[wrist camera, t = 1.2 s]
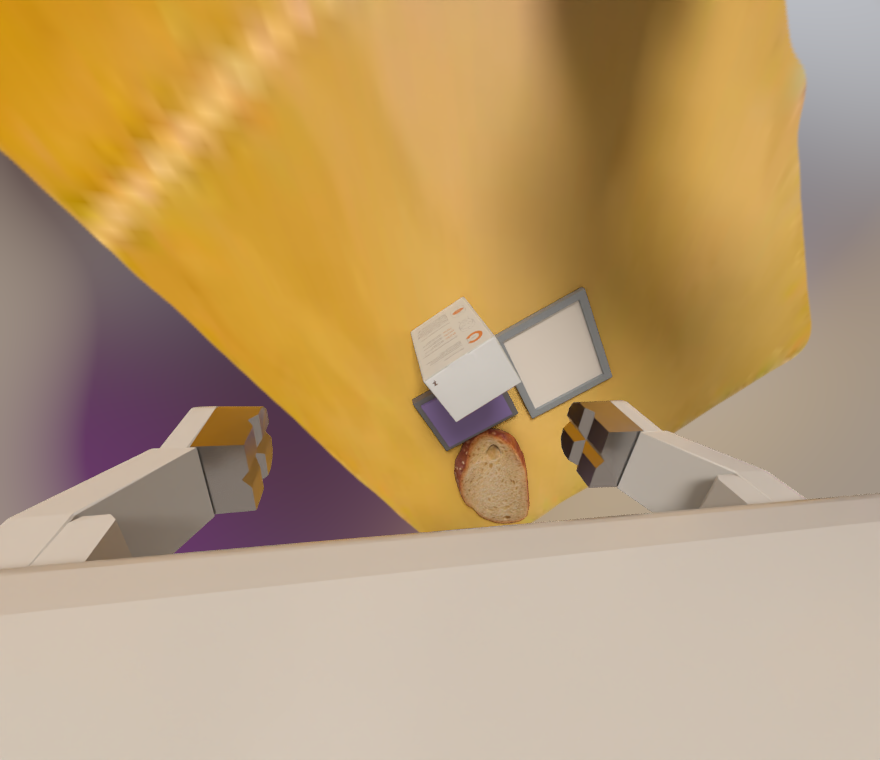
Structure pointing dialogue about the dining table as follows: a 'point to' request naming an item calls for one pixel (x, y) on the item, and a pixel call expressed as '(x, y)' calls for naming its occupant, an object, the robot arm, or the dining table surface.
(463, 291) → the dining table surface
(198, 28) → the dining table surface
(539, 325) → the print frame
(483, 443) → the bread slice
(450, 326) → the small box
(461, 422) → the ink pad
